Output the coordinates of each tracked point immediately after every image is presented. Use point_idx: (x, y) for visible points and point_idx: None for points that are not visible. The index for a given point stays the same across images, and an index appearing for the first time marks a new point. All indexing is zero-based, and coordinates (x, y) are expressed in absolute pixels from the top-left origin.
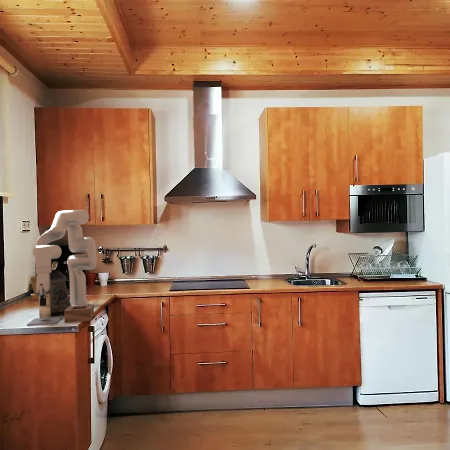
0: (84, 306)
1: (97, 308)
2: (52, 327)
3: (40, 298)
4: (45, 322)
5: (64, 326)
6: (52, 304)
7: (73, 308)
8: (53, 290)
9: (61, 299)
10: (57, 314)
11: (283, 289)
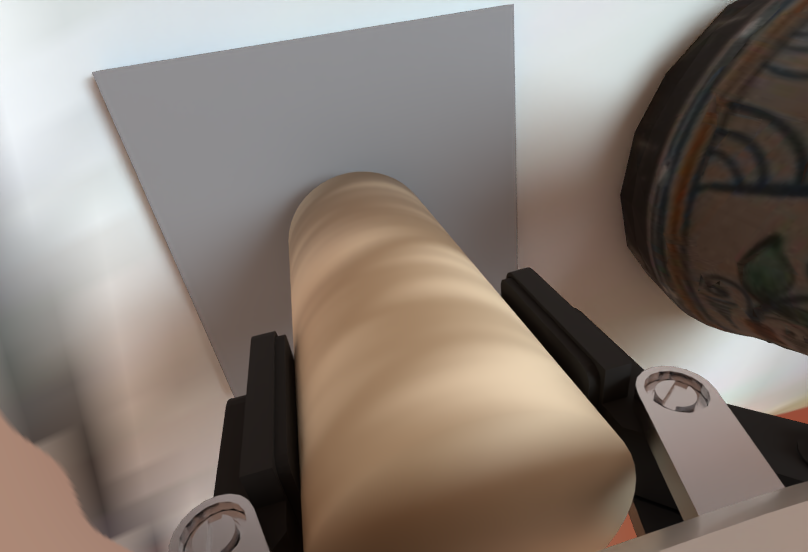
0: None
1: (801, 405)
2: (71, 430)
3: (249, 490)
4: (230, 291)
5: (137, 501)
6: (762, 226)
7: None
8: None
9: None
10: (635, 234)
11: None
